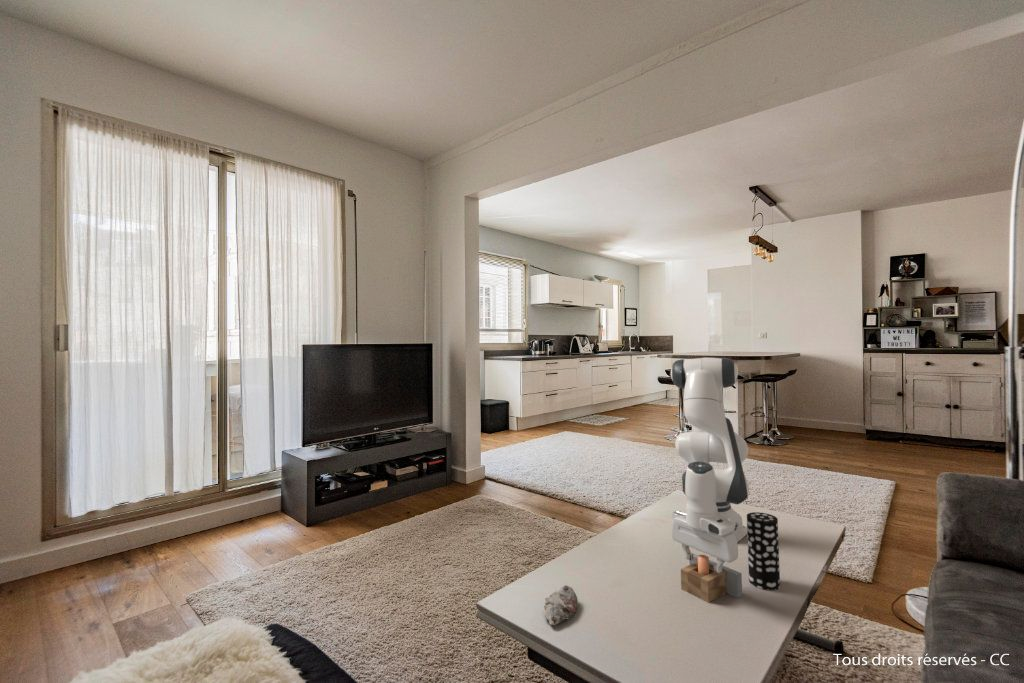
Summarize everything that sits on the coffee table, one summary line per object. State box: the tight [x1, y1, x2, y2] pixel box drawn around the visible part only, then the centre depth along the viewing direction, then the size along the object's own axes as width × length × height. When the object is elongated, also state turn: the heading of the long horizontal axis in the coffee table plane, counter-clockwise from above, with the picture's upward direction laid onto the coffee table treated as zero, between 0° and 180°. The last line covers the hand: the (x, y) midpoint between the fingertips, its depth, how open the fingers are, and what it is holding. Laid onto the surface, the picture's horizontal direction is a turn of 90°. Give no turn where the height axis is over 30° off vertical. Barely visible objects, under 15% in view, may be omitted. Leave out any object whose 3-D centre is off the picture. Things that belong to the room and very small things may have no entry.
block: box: [680, 561, 728, 603], centre depth 136 cm, size 9×9×6 cm
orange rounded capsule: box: [697, 554, 710, 576], centre depth 136 cm, size 3×3×10 cm
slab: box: [688, 552, 743, 599], centre depth 139 cm, size 2×16×6 cm, turn 33°
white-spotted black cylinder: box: [746, 511, 781, 591], centre depth 140 cm, size 8×8×20 cm
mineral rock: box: [542, 584, 579, 626], centre depth 127 cm, size 15×8×4 cm, turn 138°
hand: (703, 565), depth 136 cm, fingers open, 8 cm apart
